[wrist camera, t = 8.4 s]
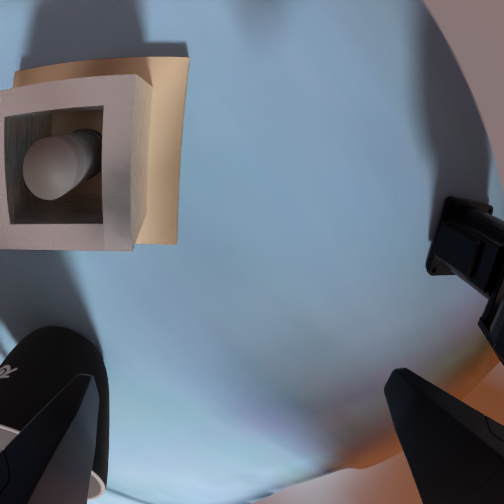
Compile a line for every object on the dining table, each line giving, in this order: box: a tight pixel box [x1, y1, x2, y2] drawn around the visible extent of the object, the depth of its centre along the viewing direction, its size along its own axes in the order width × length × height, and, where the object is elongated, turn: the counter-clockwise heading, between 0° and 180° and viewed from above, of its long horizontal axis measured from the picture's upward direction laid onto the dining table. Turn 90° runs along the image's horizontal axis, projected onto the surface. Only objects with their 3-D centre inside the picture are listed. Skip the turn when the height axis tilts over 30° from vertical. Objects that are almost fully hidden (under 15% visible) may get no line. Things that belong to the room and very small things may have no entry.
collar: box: [0, 74, 153, 251], centre depth 12 cm, size 7×7×5 cm
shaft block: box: [13, 57, 190, 245], centre depth 12 cm, size 10×10×6 cm
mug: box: [0, 326, 109, 500], centre depth 16 cm, size 12×9×10 cm
